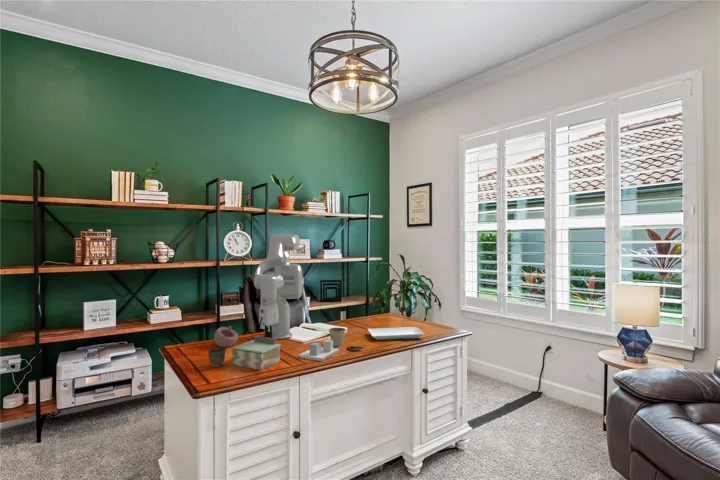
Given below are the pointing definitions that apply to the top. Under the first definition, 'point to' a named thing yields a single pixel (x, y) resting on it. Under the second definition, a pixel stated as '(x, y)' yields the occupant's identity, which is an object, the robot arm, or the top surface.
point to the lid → (259, 345)
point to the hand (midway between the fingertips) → (268, 339)
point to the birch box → (255, 358)
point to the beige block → (327, 345)
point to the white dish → (319, 357)
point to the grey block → (315, 348)
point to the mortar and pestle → (225, 337)
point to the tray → (395, 333)
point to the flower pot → (337, 336)
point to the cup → (216, 356)
